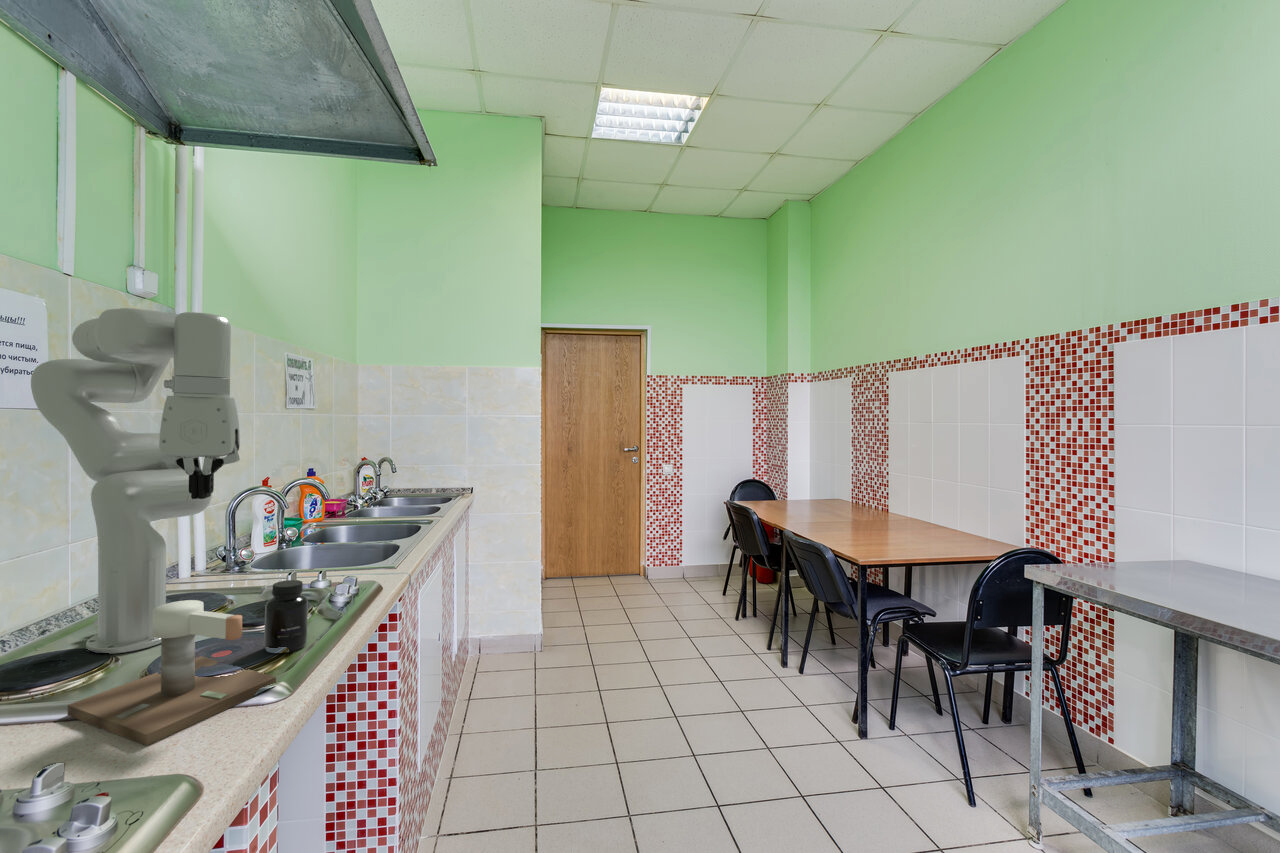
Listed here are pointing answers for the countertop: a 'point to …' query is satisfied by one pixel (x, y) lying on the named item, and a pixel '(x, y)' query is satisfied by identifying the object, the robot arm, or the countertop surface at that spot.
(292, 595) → the supplement bottle
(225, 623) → the cream orange-tipped lever
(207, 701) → the base
